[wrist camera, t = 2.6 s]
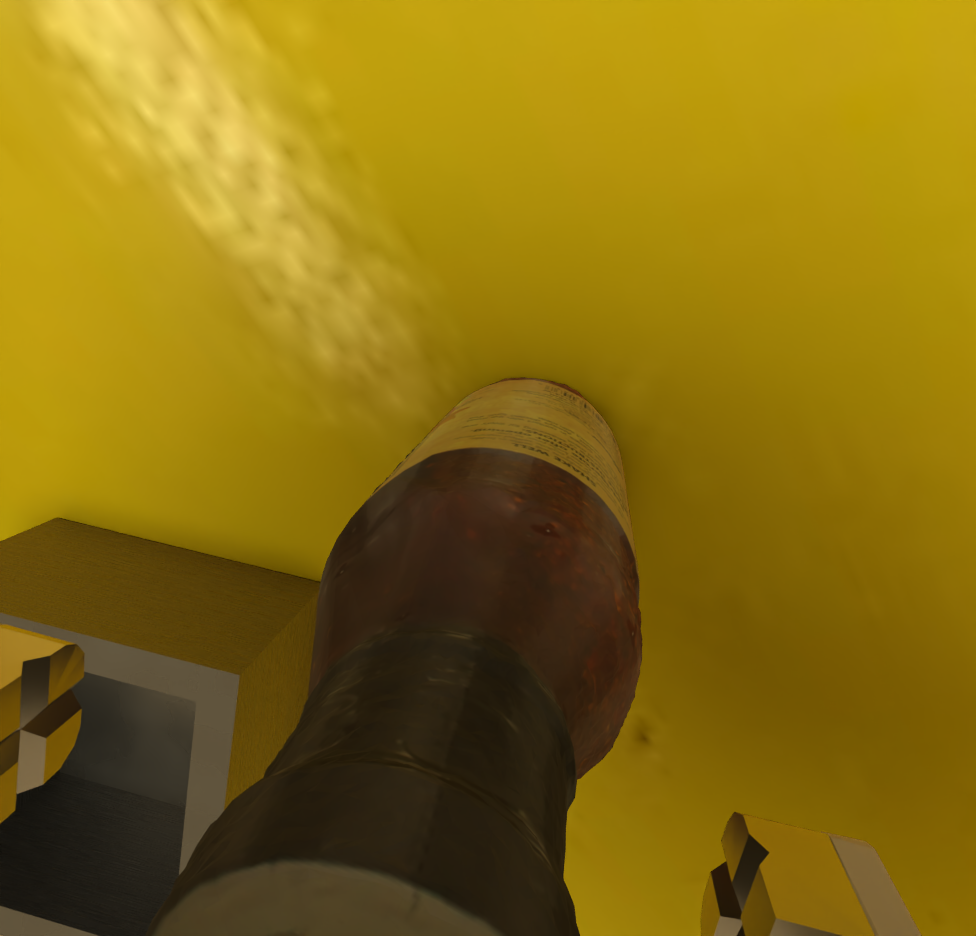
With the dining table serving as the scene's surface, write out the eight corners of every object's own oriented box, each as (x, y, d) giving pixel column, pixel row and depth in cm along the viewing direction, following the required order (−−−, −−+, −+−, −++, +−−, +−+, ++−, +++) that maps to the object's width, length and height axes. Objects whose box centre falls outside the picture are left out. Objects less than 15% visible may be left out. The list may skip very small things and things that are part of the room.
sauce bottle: (426, 385, 25) (-121, 684, 6) (611, 360, 24) (656, 625, 5) (457, 566, 27) (90, 1275, 7) (633, 549, 25) (736, 1332, 6)
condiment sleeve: (325, 583, 27) (239, 675, 21) (287, 844, 30) (202, 996, 24) (57, 517, 28) (-105, 585, 22) (46, 776, 32) (-99, 904, 25)
